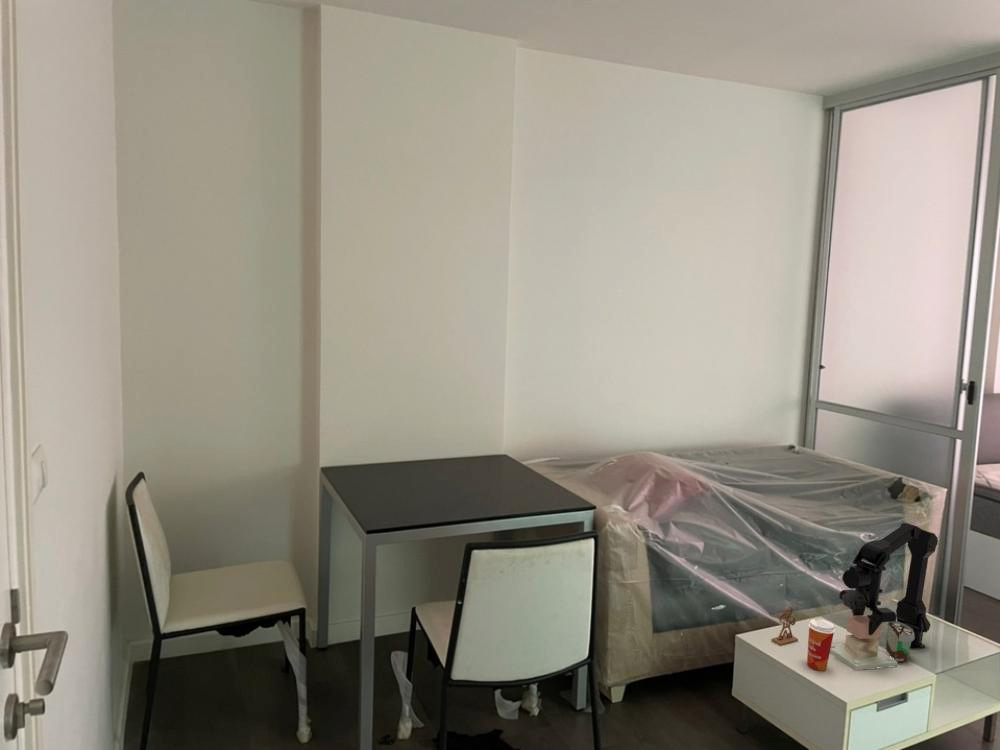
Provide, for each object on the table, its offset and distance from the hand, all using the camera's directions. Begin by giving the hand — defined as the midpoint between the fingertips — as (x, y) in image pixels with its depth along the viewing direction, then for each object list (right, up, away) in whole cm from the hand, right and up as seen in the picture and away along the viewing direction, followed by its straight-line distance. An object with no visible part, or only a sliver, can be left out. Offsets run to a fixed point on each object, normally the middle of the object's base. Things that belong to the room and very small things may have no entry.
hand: (863, 630), depth 245 cm
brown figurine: (-22, -7, +9) cm, 25 cm away
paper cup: (-18, -9, -7) cm, 21 cm away
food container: (+13, -10, +3) cm, 17 cm away
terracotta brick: (0, -1, 0) cm, 1 cm away
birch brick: (-1, -7, +1) cm, 8 cm away
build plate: (-1, -9, +1) cm, 9 cm away
